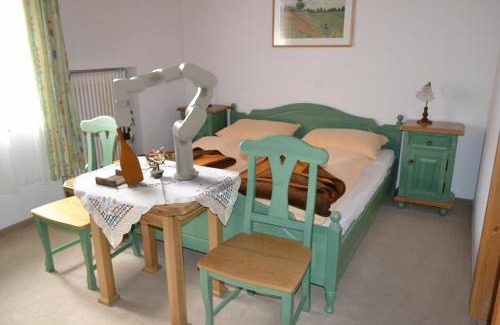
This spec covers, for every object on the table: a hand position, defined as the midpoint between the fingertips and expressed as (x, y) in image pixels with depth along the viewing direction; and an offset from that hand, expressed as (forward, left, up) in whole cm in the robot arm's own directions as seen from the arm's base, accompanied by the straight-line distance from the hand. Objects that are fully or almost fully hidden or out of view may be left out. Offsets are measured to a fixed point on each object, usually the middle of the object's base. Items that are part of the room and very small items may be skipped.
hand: (127, 139), depth 198 cm
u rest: (+12, 0, -24) cm, 27 cm away
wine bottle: (-2, 0, -23) cm, 23 cm away
